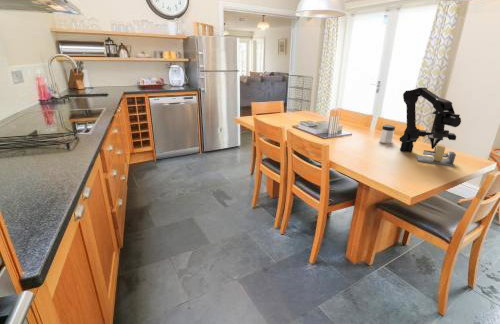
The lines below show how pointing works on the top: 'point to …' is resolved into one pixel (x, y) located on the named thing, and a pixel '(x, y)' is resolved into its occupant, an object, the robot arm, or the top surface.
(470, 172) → the top surface
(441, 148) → the tan notched block
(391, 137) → the jar
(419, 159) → the shaft stand
